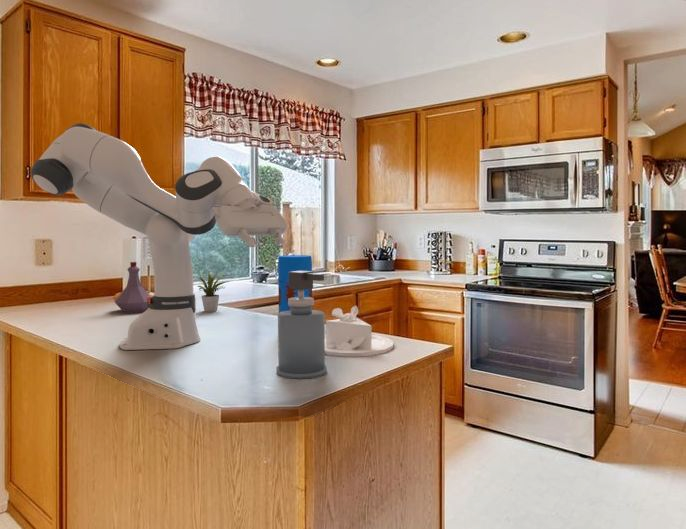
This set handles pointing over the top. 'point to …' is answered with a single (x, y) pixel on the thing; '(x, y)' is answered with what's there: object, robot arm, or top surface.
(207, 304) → the house plant
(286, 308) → the thermos
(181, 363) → the top surface
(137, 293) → the flask
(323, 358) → the dispenser
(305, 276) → the pump head
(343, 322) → the dish
